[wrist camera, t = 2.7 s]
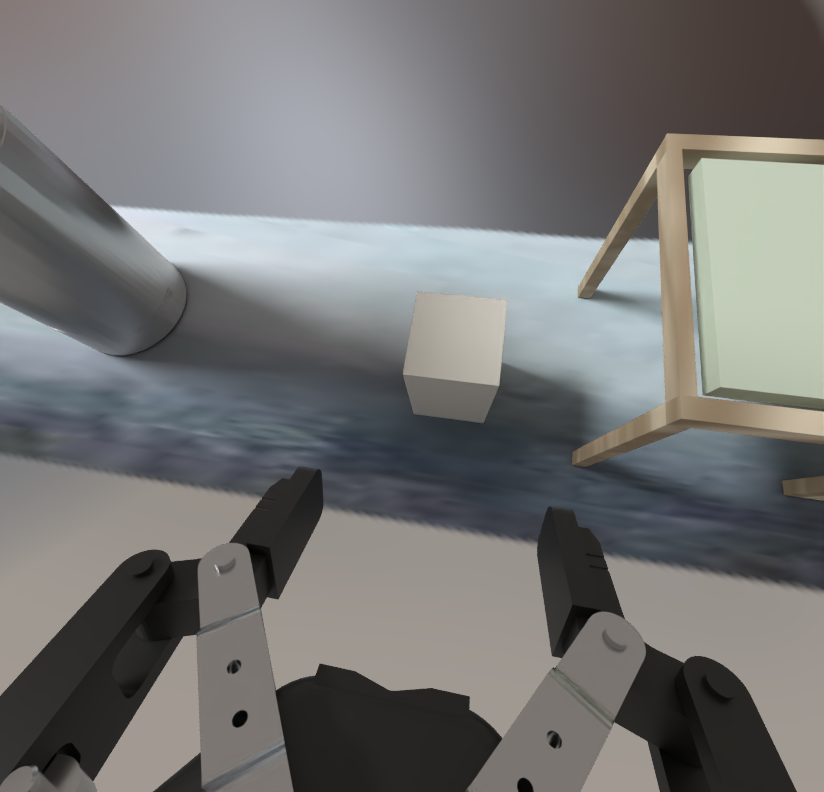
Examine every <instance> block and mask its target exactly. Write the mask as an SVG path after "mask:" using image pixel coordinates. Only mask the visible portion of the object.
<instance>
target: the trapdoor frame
mask: <svg viewBox="0 0 824 792" xmlns="http://www.w3.org/2000/svg"><path fill="white" fill-rule="evenodd" d="M701 158H708V159H727V160H745V161H763V162H781V163H800V164H818V165H824V140H809V139H787V138H762V137H739V136H738V137H737V136H714V135H690V134H667V135H666V137H665V138H664V140H663V142H662V144H661V146H660V147H659V149H658V151H657V152H656V154H655V156H654V157H653V159H652V161H651V163H650V164H649V166H648V168H647V169H646V171H645V173H644V175H643V176H642V178H641V180H640V182H639V183H638V185H637V187H636V189H635V190H634V192H633V194H632V195H631V197H630V199H629V201H628V202H627V204H626V206H625V207H624V209H623V211H622V213H621V214H620V216H619V218H618V219H617V221H616V223H615V225H614V226H613V228H612V230H611V232H610V233H609V235H608V237H607V238H606V240H605V242H604V244H603V245H602V247H601V249H600V250H599V252H598V254H597V256H596V257H595V259H594V261H593V262H592V264H591V266H590V268H589V269H588V271H587V273H586V275H585V276H584V278H583V280H582V281H581V283H580V285H579V287H578V297H580V298H591V296H592V295H593V293H594V292H595V290H596V289H597V287H598V286H599V284H600V283H601V281H602V280H603V278H604V277H605V275H606V274H607V272H608V271H609V269H610V268H611V266H612V265H613V263H614V262H615V260H616V259H617V257H618V255H619V254H620V252H621V251H622V249H623V248H624V246H625V245H626V243H627V242H628V240H629V239H630V237H631V236H632V234H633V233H634V231H635V230H636V228H637V227H638V225H639V224H640V222H641V221H642V219H643V218H644V216H645V215H646V213H647V212H648V210H649V209H650V207H651V206H652V204H653V203H654V201H655V200H656V198H657V197H658V215H659V216H658V217H659V244H660V271H661V298H662V325H663V351H664V378H665V403H664V404H662V405H660V406H658V407H656V408H655V409H653V410H651V411H649V412H647V413H645V414H643V415H641V416H639V417H637V418H636V419H634V420H632V421H630V422H628V423H626V424H624V425H622V426H620V427H618V428H617V429H615V430H613V431H611V432H609V433H607V434H605V435H603V436H601V437H599V438H598V439H596V440H594V441H592V442H590V443H588V444H586V445H584V446H582V447H580V448H579V449H577V450H575V451H573V452H572V465H575V466H582V467H587V466H590V465H593V464H595V463H598V462H601V461H603V460H606V459H609V458H612V457H614V456H617V455H620V454H622V453H625V452H628V451H630V450H633V449H636V448H639V447H641V446H644V445H647V444H649V443H652V442H655V441H657V440H660V439H663V438H666V437H668V436H671V435H674V434H676V433H679V432H682V431H685V430H687V429H690V428H695V429H703V430H711V431H719V432H727V433H735V434H743V435H750V436H758V437H766V438H774V439H782V440H790V441H798V442H806V443H814V444H822V445H824V412H822V411H813V410H805V409H796V408H788V407H779V406H770V405H762V404H753V403H745V402H736V401H728V400H719V399H710V398H702V397H698V394H697V378H696V362H695V346H694V330H693V314H692V299H691V283H690V267H689V251H688V235H687V219H686V204H685V190H684V189H685V188H684V172H683V168H685V169H694V168H695V167H696V165H697V164H698V162H699V161H700V160H701ZM782 483H783V491H784V495H787V496H794V497H802V498H809V499H816V500H823V501H824V476H818V477H809V478H800V479H792V480H783V481H782Z"/></svg>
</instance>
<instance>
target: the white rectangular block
mask: <svg viewBox="0 0 824 792" xmlns="http://www.w3.org/2000/svg"><path fill="white" fill-rule="evenodd" d="M506 310H507V300H501V299H490V298H480V297H469V296H458V295H448V294H437V293H427V292H417V295H416V301H415V306H414V312H413V318H412V323H411V329H410V335H409V341H408V346H407V352H406V358H405V363H404V369H403V377H404V381H405V385H406V388H407V392H408V396H409V399H410V403H411V406H412V410H413V414H418V415H425V416H433V417H440V418H448V419H455V420H463V421H470V422H478V423H484V421H485V419H486V416H487V414H488V411H489V409H490V407H491V404H492V402H493V400H494V397H495V395H496V392H497V390H498V388H499V383H500V372H501V362H502V352H503V341H504V331H505V320H506Z"/></svg>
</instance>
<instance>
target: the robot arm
mask: <svg viewBox="0 0 824 792" xmlns="http://www.w3.org/2000/svg"><path fill="white" fill-rule="evenodd" d="M186 296H187V293H186V285H185V282H184V279H183V277H182V275H181V274H180V273H179V271H178V270H177V269H176V268H175V267H174V266H173V265H172V264H171V263H170V262H169V261H168V260H167V259H166V258H164V257H163V256H162V255H161V254H160V253H159V252H158V251H157V250H156V249H155V248H154V247H153V246H152V245H151V244H150V243H149V242H147V241H146V240H145V238H144V237H142V236H141V235H140V234H139V233H138V232H137V231H136V230H135V229H134V228H133V227H132V226H131V225H130V224H129V223H128V222H127V221H125V220H124V219H123V218H122V217H121V216H120V215H119V214H118V213H117V212H116V211H115V210H114V209H113V208H112V207H111V206H110V205H108V204H107V203H106V202H105V201H104V200H103V199H102V198H101V197H100V196H99V195H98V194H97V193H96V192H95V191H94V190H93V189H91V188H90V187H89V186H88V185H87V184H86V183H85V182H84V181H83V180H82V179H81V178H80V177H79V176H77V174H76V173H74V172H73V171H72V170H71V169H70V168H69V167H68V166H67V165H66V164H65V163H64V162H63V161H62V160H61V159H60V158H59V157H57V156H56V155H55V154H54V153H53V152H52V151H51V150H50V149H49V148H48V147H47V146H46V145H45V144H44V143H42V141H40V140H39V139H38V138H37V137H36V136H35V135H34V134H33V133H32V132H31V131H30V130H29V129H28V128H27V127H26V126H24V125H23V124H22V123H21V122H20V121H19V120H18V119H17V118H16V117H15V116H14V115H13V114H12V113H11V112H10V111H9V110H7V109H6V108H5V107H4V106H3V105H2V104H1V103H0V303H2V304H4V305H6V306H8V307H10V308H12V309H14V310H16V311H19V312H21V313H23V314H25V315H27V316H29V317H31V318H33V319H35V320H37V321H39V322H41V323H43V324H45V325H47V326H49V327H51V328H53V329H55V330H57V331H59V332H61V333H63V334H65V335H67V336H69V337H71V338H73V339H75V340H77V341H79V342H81V343H84V344H86V345H88V346H90V347H92V348H94V349H96V350H98V351H100V352H102V353H106V354H110V355H128V354H133V353H137V352H140V351H142V350H145V349H147V348H149V347H151V346H152V345H154V344H156V343H158V342H159V341H160V340H161V339H162V338H164V337H165V336H166V335H167V334H168V333H169V332H170V331H171V330H172V329H173V327H174V326H175V325H176V323H177V322H178V320H179V318H180V317H181V315H182V312H183V310H184V307H185V303H186ZM322 510H323V486H322V473H321V470H319V469H313V468H307V467H299V468H297V470H296V471H295V473H294V474H293V476H292V477H291V478H290V479H284V478H282V479H281V480H280V481H278V482H277V483H275V484H274V485H272V486H271V487H270V488H269V489H268V491H267V492H266V493H265V495H264V496H263V497H262V500H260V502H259V503H258V504H257V506H256V508H255V509H254V510H253V511H252V512H251V514H250V515H249V516H248V518H247V519H246V520H245V522H244V523H243V525H242V526H241V527H240V529H239V530H238V531H237V533H236V534H235V536H234V537H233V538H232V539H231V541H230V542H229V543H226V544H222V545H220V546H217V547H215V548H213V549H212V550H210V551H209V552H208V553H207V554H205V556H204V557H203V558H201V559H194V560H184V561H175V562H171V561H170V558H169V556H168V554H167V553H166V552H164V551H161V550H147V551H144V552H140V553H138V554H135V555H133V556H131V557H130V558H128V559H127V560H125V561H124V562H123V563H122V564H121V565H120V566H119V567H118V568H117V569H116V570H115V571H114V572H113V573H112V574H111V575H110V577H109V578H108V579H107V580H106V581H105V582H104V583H103V584H102V585H101V586H100V587H99V589H98V590H97V591H96V592H95V593H94V594H93V595H92V596H91V597H90V598H89V599H88V601H87V602H86V603H85V604H84V605H83V606H82V607H81V608H80V609H79V610H78V611H77V613H76V614H75V615H74V616H73V617H72V618H71V619H70V620H69V621H68V622H67V624H66V625H65V626H64V627H63V628H62V629H61V630H60V631H59V632H58V633H57V635H56V636H55V637H54V638H53V639H52V640H51V641H50V642H49V643H48V644H47V645H46V647H45V648H44V649H43V650H42V651H41V652H40V653H39V654H38V655H37V656H36V657H35V659H34V660H33V661H32V662H31V663H30V664H29V665H28V666H27V667H26V668H25V669H24V671H23V672H22V673H21V674H20V675H19V676H18V677H17V678H16V679H15V680H14V682H13V683H12V684H11V685H10V686H9V687H8V688H7V689H6V690H5V691H4V692H3V694H2V695H1V696H0V792H97V789H96V786H95V784H94V783H93V781H94V779H95V777H96V776H97V774H98V772H99V771H100V769H101V768H102V766H103V765H104V763H105V761H106V760H107V758H108V756H109V755H110V753H111V752H112V750H113V749H114V747H115V745H116V744H117V742H118V740H119V739H120V737H121V736H122V734H123V732H124V731H125V729H126V728H127V726H128V724H129V723H130V721H131V720H132V718H133V716H134V715H135V713H136V711H137V710H138V708H139V707H140V705H141V704H142V702H143V700H144V699H145V697H146V695H147V694H148V692H149V691H150V689H151V687H152V686H153V684H154V682H155V681H156V679H157V677H158V676H159V675H160V673H161V671H162V670H163V668H164V667H165V665H166V663H167V662H168V660H169V658H170V657H171V655H172V654H173V652H174V650H175V649H176V647H177V646H178V644H179V642H180V641H181V639H182V638H183V636H190V635H197V664H198V691H199V718H200V744H201V752H200V753H199V754H198V755H197V756H196V757H194V758H193V759H192V760H191V761H190V762H189V763H187V764H186V765H185V766H184V767H182V768H181V769H180V770H179V771H178V772H177V773H175V774H174V775H173V776H172V777H170V778H169V779H168V780H167V781H166V782H164V783H163V784H162V785H161V786H160V787H158V788H157V789H156V790H155V791H153V792H580V791H581V789H582V787H583V785H584V783H585V781H586V779H587V777H588V775H589V773H590V771H591V769H592V767H593V765H594V763H595V761H596V759H597V757H598V755H599V753H600V751H601V749H602V747H603V744H604V743H605V740H606V738H607V737H608V734H609V732H610V730H611V728H612V726H613V724H614V722H615V723H617V724H619V725H620V726H622V727H624V728H626V729H627V730H629V731H631V732H633V733H634V734H636V735H638V736H640V737H641V738H643V739H645V740H646V741H648V745H649V749H650V753H651V757H652V761H653V765H654V769H655V773H656V777H657V781H658V785H659V789H660V792H797V791H796V789H795V787H794V785H793V783H792V781H791V779H790V777H789V775H788V772H787V770H786V768H785V766H784V764H783V762H782V760H781V758H780V756H779V754H778V752H777V750H776V747H775V745H774V744H773V741H772V739H771V737H770V735H769V733H768V731H767V729H766V727H765V724H764V723H763V720H762V718H761V716H760V714H759V712H758V710H757V708H756V706H755V704H754V702H753V700H752V698H751V695H750V694H749V692H748V690H747V689H746V687H745V686H744V684H743V683H742V682H741V681H740V680H739V679H738V678H737V676H736V675H734V674H733V673H732V672H731V671H730V670H729V669H727V668H726V667H724V666H723V665H722V664H720V663H718V662H716V661H714V660H712V659H709V658H706V657H702V656H694V657H690V658H689V659H687V661H685V663H683V662H680V661H679V660H677V659H674V658H672V657H670V656H668V655H666V654H664V653H662V652H660V651H658V650H656V649H654V648H652V647H651V646H649V645H648V644H646V643H645V642H644V641H643V639H642V637H641V636H640V634H639V632H638V631H637V630H636V629H635V628H634V627H633V626H632V625H631V624H630V623H629V622H628V621H626V620H625V618H624V615H623V613H622V610H621V607H620V604H619V600H618V597H617V595H616V591H615V588H614V585H613V582H612V579H611V576H610V573H609V571H608V567H607V564H606V561H605V559H604V555H603V552H602V549H601V546H600V543H599V541H598V540H597V539H596V538H595V536H594V535H593V534H592V532H591V531H590V530H589V529H587V528H581V527H578V525H577V521H576V517H575V514H574V512H573V510H569V509H563V508H557V507H548V509H547V512H546V515H545V519H544V522H543V525H542V529H541V532H540V535H539V539H538V547H537V556H538V564H539V569H540V577H541V584H542V591H543V598H544V604H545V611H546V618H547V625H548V632H549V639H550V646H551V652H552V656H554V657H560V658H562V659H561V661H560V662H559V664H558V665H557V666H556V667H555V668H552V669H551V670H550V671H549V673H548V674H547V675H546V677H545V678H544V680H543V681H542V683H541V684H540V686H539V687H538V688H537V690H536V691H535V693H534V694H533V696H532V697H531V698H530V700H529V701H528V703H527V704H526V706H525V707H524V708H523V710H522V712H521V713H520V714H519V716H518V717H517V719H516V720H515V722H514V723H513V724H512V726H511V728H510V729H509V730H508V732H507V733H506V734H505V736H504V737H503V739H502V737H501V736H500V735H499V734H498V733H497V732H496V730H495V729H494V728H493V727H492V726H491V725H490V724H488V723H487V722H486V721H485V720H484V719H483V718H481V717H480V716H479V715H477V714H476V713H474V712H472V711H471V710H469V699H470V697H469V696H465V695H460V694H456V693H451V692H447V691H442V690H437V689H433V688H428V689H416V690H403V691H390V690H387V689H386V688H384V687H382V686H380V685H378V684H377V683H375V682H373V681H371V680H370V679H368V678H366V677H364V676H362V675H361V674H359V673H357V672H355V671H351V670H346V669H342V668H338V667H333V666H329V665H324V664H319V667H318V670H317V673H316V676H309V677H305V678H301V679H298V680H295V681H292V682H290V683H288V684H286V685H284V686H282V687H281V688H279V689H278V690H276V686H275V681H274V677H273V671H272V666H271V661H270V656H269V650H268V645H267V640H266V634H265V629H264V624H263V618H262V613H261V607H262V605H263V603H264V601H265V599H266V598H267V597H269V598H274V599H279V597H280V595H281V593H282V591H283V589H284V587H285V585H286V583H287V581H288V580H289V577H290V576H291V574H292V572H293V570H294V568H295V566H296V564H297V562H298V560H299V558H300V556H301V554H302V552H303V550H304V548H305V546H306V544H307V542H308V541H309V539H310V537H311V534H312V533H313V531H314V529H315V527H316V525H317V523H318V521H319V519H320V516H321V514H322Z"/></svg>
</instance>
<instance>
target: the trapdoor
mask: <svg viewBox="0 0 824 792" xmlns="http://www.w3.org/2000/svg"><path fill="white" fill-rule="evenodd" d="M688 183H689V196H690V212H691V226H692V242H693V257H694V272H695V287H696V302H697V317H698V332H699V346H700V361H701V376H702V391H703V395H705V396H714V397H722V398H730V399H739V400H747V401H756V402H764V403H772V404H781V405H789V406H798V407H806V408H814V409H823V410H824V165H818V164H800V163H781V162H763V161H745V160H727V159H708V158H701V160H700V161H699V162H698V164H697V165H696V167H695V168H694V169H693V171H692V172H691V174H690V175H689V176H688Z"/></svg>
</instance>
